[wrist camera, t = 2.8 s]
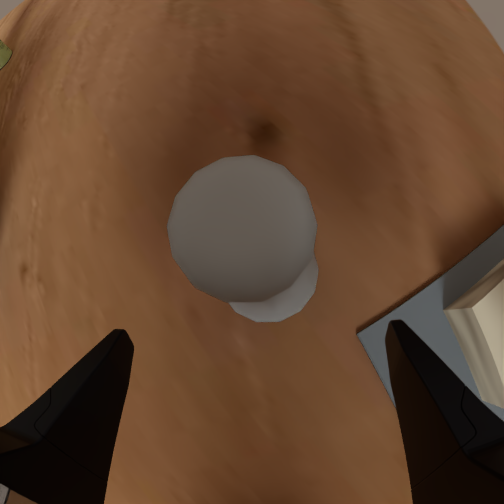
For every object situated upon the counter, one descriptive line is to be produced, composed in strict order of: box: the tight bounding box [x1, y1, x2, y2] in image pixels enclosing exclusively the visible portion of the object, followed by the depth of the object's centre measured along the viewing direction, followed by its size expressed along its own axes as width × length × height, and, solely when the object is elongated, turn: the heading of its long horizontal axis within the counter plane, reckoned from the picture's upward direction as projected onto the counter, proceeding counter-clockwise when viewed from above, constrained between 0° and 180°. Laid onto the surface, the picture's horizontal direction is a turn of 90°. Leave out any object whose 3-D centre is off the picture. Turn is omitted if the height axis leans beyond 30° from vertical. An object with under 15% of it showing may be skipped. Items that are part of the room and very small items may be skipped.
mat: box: [357, 225, 504, 421], centre depth 17 cm, size 18×14×1 cm
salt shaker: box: [167, 155, 319, 322], centre depth 15 cm, size 6×6×13 cm
